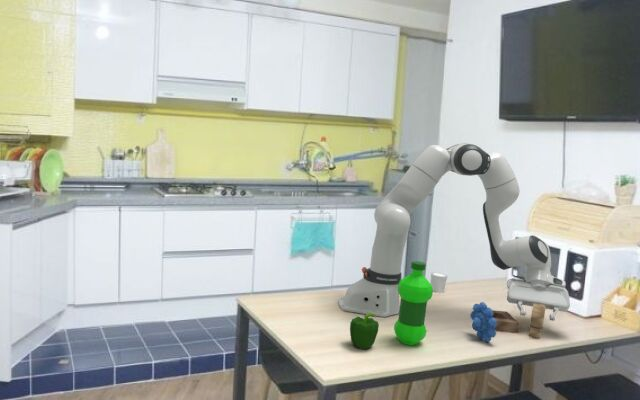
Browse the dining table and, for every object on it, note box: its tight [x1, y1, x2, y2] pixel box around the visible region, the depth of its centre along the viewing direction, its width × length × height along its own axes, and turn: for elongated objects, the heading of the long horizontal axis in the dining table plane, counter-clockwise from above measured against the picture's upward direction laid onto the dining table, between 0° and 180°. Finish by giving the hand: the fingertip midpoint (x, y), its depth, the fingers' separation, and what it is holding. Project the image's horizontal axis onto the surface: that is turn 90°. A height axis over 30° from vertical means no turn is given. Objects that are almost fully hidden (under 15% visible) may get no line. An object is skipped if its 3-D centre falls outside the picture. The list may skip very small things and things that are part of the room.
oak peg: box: [528, 303, 546, 339], centre depth 185 cm, size 4×4×11 cm
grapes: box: [470, 301, 497, 343], centre depth 177 cm, size 12×7×12 cm, turn 25°
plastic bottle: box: [393, 260, 434, 346], centre depth 167 cm, size 10×10×25 cm
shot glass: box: [430, 272, 448, 293], centre depth 230 cm, size 7×7×7 cm
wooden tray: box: [492, 309, 520, 334], centre depth 193 cm, size 12×12×4 cm
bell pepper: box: [349, 313, 380, 350], centre depth 161 cm, size 8×8×10 cm
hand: (537, 317), depth 185 cm, fingers open, 8 cm apart
